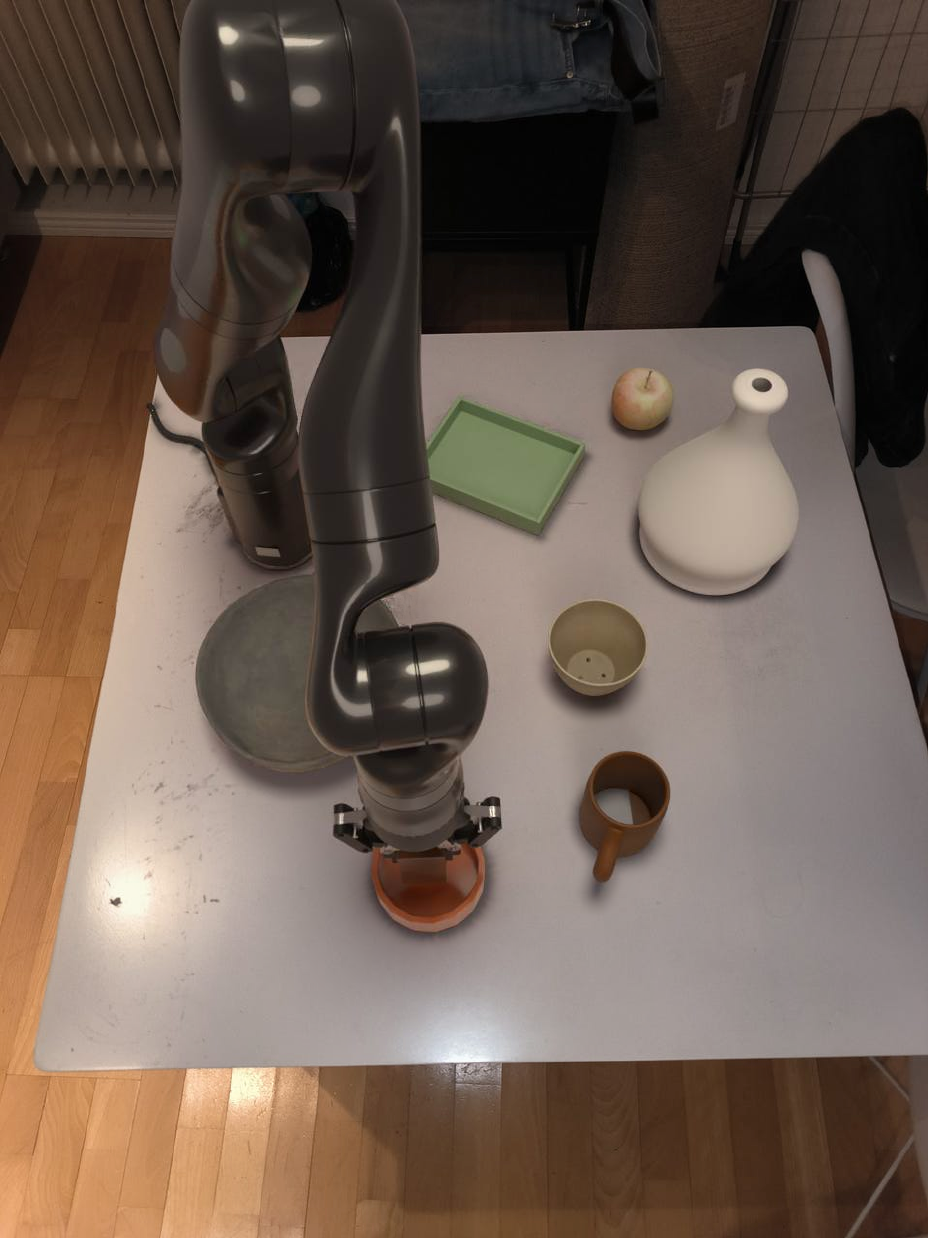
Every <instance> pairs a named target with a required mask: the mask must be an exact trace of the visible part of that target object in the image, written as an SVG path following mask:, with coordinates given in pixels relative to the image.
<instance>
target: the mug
mask: <svg viewBox="0 0 928 1238" xmlns="http://www.w3.org/2000/svg"><path fill="white" fill-rule="evenodd" d="M610 788H619V789H620V788H621V789H625V790H627V791H628V796H629V804H630V812H631V818H632V824H631V823H630V824H628V823H623V822H621V821H620V822H619V821H617V820H615V819H613V818H612V817H610V816H608V814H607V813H605V812H604V810H602V808H601V807H600V805H599V803H598V802H597V799H596V796H595V794H597V793H599V792H601V791H603V790H605V789H610ZM670 801H671V786H670V781H669V779H668V776H667V775H666V773H665V771H664V769H663V768H662V767H661V766H660V765H659V763H657V762H656V761H655V760H654V759H653V758H651V757H649V756H647V755H646V754H643V753H640V752H637V751H632V750H622V751H621V750H620V751H616V752H613V753H610V754H607V755H606V756H604V757H603V758H601V759H600V760H599V761H598V762H597V763H596V764H595V766H594V767H593V769H592V770H591V772H590V775H589V776H588V778H587V780H586V784H585V787H584V791H583V795H582V799H581V803H580V806H579V825H580V828H581V831H582V834H583V835H584V837H585V839H586V840H587V842H588V843H589V844H590V845H591V846H592V847H593V848H594V849H596V850H597V851H598V852H597V855H596V858H595V862H594V864H593V868H592V876H593V878H594V880H595V881H596V882H598V883H606V882H608V881H609V880H610V879H611V878H612V875H613V872H614V870H615V866H616V863H617V861H618V858H623V857H630V856H633V855H635V854H638V853H640V852H641V851H643V850H644V849H645V848H646V847H647V846H649V844H650V843H651V842H652V840H653V839H654V837H655V835H656V834H657V831H658V830H659V828H660V826H661V824H662V823H663V821H664V819H665V817H666V814H667V812H668V809H669V804H670Z"/></svg>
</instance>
